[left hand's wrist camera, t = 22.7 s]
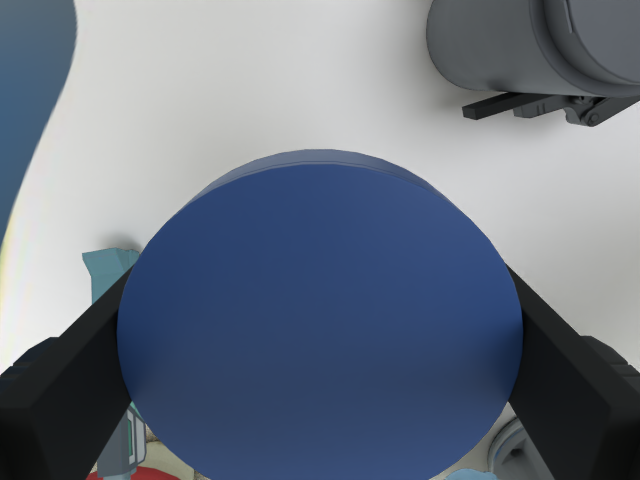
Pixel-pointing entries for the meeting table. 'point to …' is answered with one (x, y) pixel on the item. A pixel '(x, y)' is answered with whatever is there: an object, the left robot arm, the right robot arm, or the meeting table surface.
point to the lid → (319, 324)
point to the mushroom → (158, 466)
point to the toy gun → (131, 431)
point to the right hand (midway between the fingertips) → (455, 37)
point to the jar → (538, 45)
